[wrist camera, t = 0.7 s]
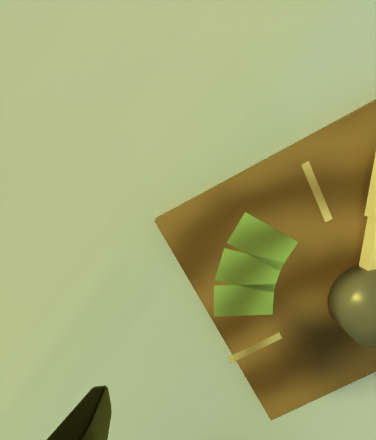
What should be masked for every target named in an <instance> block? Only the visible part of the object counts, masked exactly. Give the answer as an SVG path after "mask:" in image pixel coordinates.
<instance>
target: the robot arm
mask: <svg viewBox="0 0 376 440" xmlns="http://www.w3.org/2000/svg"><path fill="white" fill-rule="evenodd" d="M110 419H111V403H110V397H109V392H108V388H107V386H97V387H94V388H92V389H91V390H90V391H89V392H88V394H87V395H86V396H85V397H84V398H83V399H82V400H81V402H80V403H79V404H78V405H77V406H76V407H75V408H74V409H73V411H72V412H71V413H70V414H69V415H68V416H67V417H66V418H65V420H64V421H63V422H62V423H61V424H60V425H59V426H58V427H57V429H56V430H55V431H54V432H53V433H52V434H51V435H50V437H49V438H48V439H47V440H107V438H108V432H109V426H110Z"/></svg>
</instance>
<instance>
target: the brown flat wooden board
mask: <svg viewBox="0 0 376 440" xmlns="http://www.w3.org/2000/svg"><path fill="white" fill-rule="evenodd" d="M375 153H376V100H374V101H372V102H370V103H368V104H367V105H365V106H363V107H361V108H359V109H357V110H355V111H354V112H352V113H350V114H348V115H346V116H344V117H342V118H341V119H339V120H337V121H335V122H333V123H331V124H330V125H328V126H326V127H324V128H322V129H320V130H318V131H317V132H315V133H313V134H311V135H309V136H307V137H305V138H304V139H302V140H300V141H298V142H296V143H294V144H292V145H291V146H289V147H287V148H285V149H283V150H281V151H280V152H278V153H276V154H274V155H272V156H270V157H268V158H267V159H265V160H263V161H261V162H259V163H257V164H255V165H254V166H252V167H250V168H248V169H246V170H244V171H242V172H241V173H239V174H237V175H235V176H233V177H231V178H229V179H228V180H226V181H224V182H222V183H220V184H218V185H217V186H215V187H213V188H211V189H209V190H207V191H205V192H204V193H202V194H200V195H198V196H196V197H194V198H192V199H191V200H189V201H187V202H185V203H183V204H181V205H179V206H178V207H176V208H174V209H172V210H170V211H168V212H166V213H165V214H163V215H161V216H159V217H157V218H156V220H155V222H156V224H157V226H158V228H159V229H160V231H161V233H162V234H163V236H164V238H165V240H166V241H167V243H168V245H169V246H170V248H171V250H172V252H173V253H174V255H175V257H176V258H177V260H178V262H179V264H180V265H181V267H182V269H183V270H184V272H185V274H186V276H187V277H188V279H189V281H190V282H191V284H192V286H193V288H194V289H195V291H196V293H197V294H198V296H199V298H200V300H201V301H202V303H203V305H204V306H205V308H206V310H207V312H208V313H209V315H210V317H211V318H212V320H213V322H214V324H215V325H216V327H217V329H218V330H219V332H220V334H221V336H222V337H223V339H224V341H225V342H226V344H227V346H228V348H229V349H230V351H231V353H232V354H233V355H232V356H230V357H228V359H229V361H230V363H233V362H235V361H237V363H238V365H239V366H240V368H241V370H242V372H243V373H244V375H245V377H246V378H247V380H248V382H249V384H250V385H251V387H252V389H253V390H254V392H255V394H256V395H257V397H258V399H259V401H260V402H261V404H262V406H263V407H264V409H265V411H266V413H267V414H268V416H269V418H270V419H271V420H273V419H275V418H277V417H280V416H282V415H284V414H286V413H288V412H290V411H292V410H294V409H297V408H299V407H301V406H303V405H305V404H307V403H309V402H312V401H314V400H316V399H318V398H320V397H322V396H324V395H326V394H329V393H331V392H333V391H335V390H337V389H339V388H341V387H343V386H346V385H348V384H350V383H352V382H354V381H356V380H358V379H361V378H363V377H365V376H367V375H369V374H371V373H373V372H375V371H376V349H373V348H368V347H365V346H362V345H360V344H359V343H357V342H356V341H355V340H354V339H353V338H352V337H351V336H350V335H349V334H348V333H347V332H346V331H345V330H344V329H343V328H342V327H341V326H340V325H339V324H338V323H337V322H336V321H335V320H334V319H333V318H332V317H331V315H330V313H329V310H328V304H327V300H328V294H329V291H330V288H331V287H332V285H333V283H334V282H335V280H336V279H337V278H338V277H339V276H340V275H341V274H342V273H344V272H345V271H347V270H348V269H350V268H352V267H355V266H358V265H359V262H360V257H361V251H362V246H363V240H364V235H365V229H366V224H367V218H368V217H367V216H364V214H365V209H366V203H367V198H368V192H369V186H370V181H371V175H372V170H373V164H374V159H375Z"/></svg>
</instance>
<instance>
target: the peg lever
mask: <svg viewBox="0 0 376 440" xmlns="http://www.w3.org/2000/svg"><path fill="white" fill-rule="evenodd" d="M364 216H367V217H368V218H367V224H366V229H365V235H364V240H363V246H362V251H361V257H360V262H359V265H358V266H355V267H352V268H350V269H348V270H347V271H345V272H344V273H342V274H341V275H340V276H339V277H338V278H337V279H336V280H335V282H334V283H333V285H332V287H331V288H330V291H329V294H328V300H327V304H328V310H329V313H330V315H331V317H332V318H333V319H334V320H335V321H336V322H337V323H338V324H339V325H340V326H341V327H342V328H343V329H344V330H345V331H346V332H347V333H348V334H349V335H350V336H351V337H352V338H353V339H354V340H355V341H356V342H357V343H359V344H360V345H362V346H365V347H368V348H373V349H376V153H375V159H374V164H373V170H372V175H371V181H370V186H369V192H368V198H367V203H366V209H365V214H364Z"/></svg>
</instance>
